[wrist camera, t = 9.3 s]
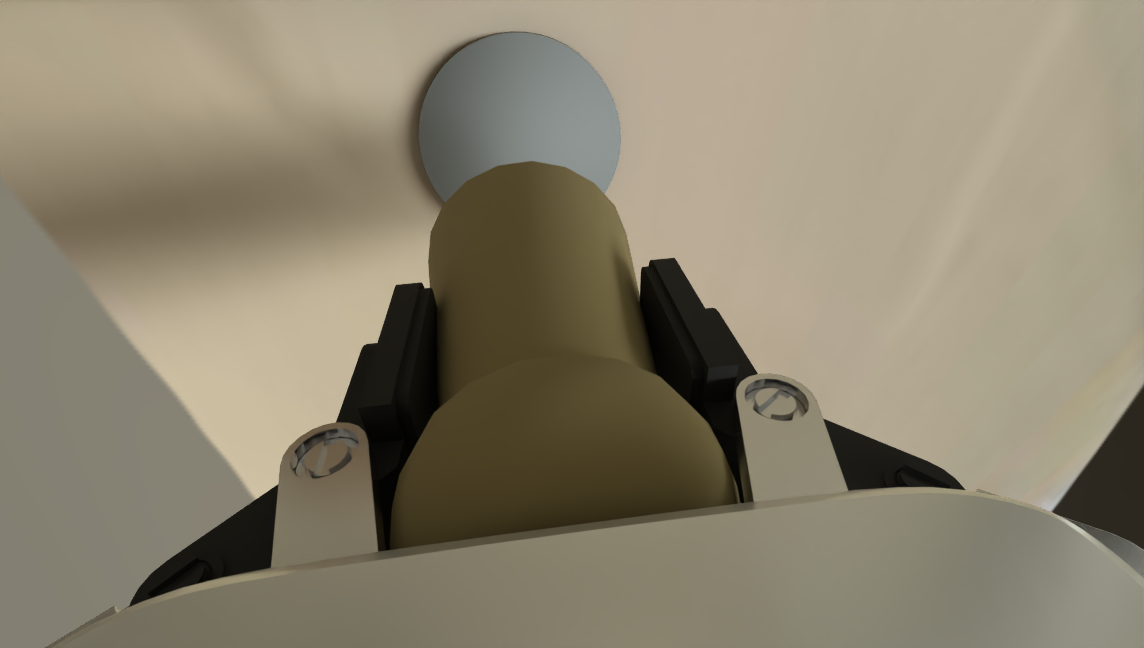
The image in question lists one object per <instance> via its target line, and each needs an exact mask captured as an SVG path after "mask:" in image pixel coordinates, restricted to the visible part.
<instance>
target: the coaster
mask: <svg viewBox="0 0 1144 648" xmlns="http://www.w3.org/2000/svg"><path fill="white" fill-rule="evenodd" d="M620 143H621V135H620V123H619V118H618V113H617V110H616V106H615V103H614V100H613V98H612V96H611V94H610V92H609V89H608V87H607V86H606V84H605V83H604V81H603V80H602V78H601V76H600V75H599V74H598V73H597V72H596V70H595V69H594V68H593V67H592V66H591V64H590V63H589V62H588V61H587V60H586V59H584V58H583V57H582V56H581V55H580V54H579V53H578V52H576V51H575V50H573V49H572V48H570V47H569V46H567V45H566V44H563V43H561V42H559V41H557V40H555V39H553V38H550V37H547V36H544V35H540V34H535V33H529V32H505V33H498V34H494V35H490V36H487V37H483V38H481V39H479V40H477V41H475V42H472V43H470V44H469V45H467V46H466V47H464V48H463V49H461V50H460V51H458V52H457V53H456V54H455V55H454V56H453V57H451V58H450V59H449V60H448V61H447V62H446V63H445V65H444V66H443V67H442V68H441V70H440V71H439V72H438V73H437V75H436V77H435V78H434V80H433V82H432V84H431V85H430V87H429V90H428V92H427V94H426V97H425V99H424V102H423V106H422V110H421V113H420V121H419V147H420V153H421V158H422V162H423V165H424V169H425V171H426V173H427V176H428V178H429V180H430V182H431V184H432V186H433V187H434V189H435V191H436V192H437V194H438V195H439V196H440V198H441V199H442V200H443V202H444V203H445V202H446V201H447V200H448V199H449V198H450V197H451V196H452V195H453V194H454V193H455V192H456V191H457V190H458V189H459V188H460V187H461V186H462V185H463V184H464V183H465V182H466V181H467V180H469V179H471V178H473V177H475V176H477V175H479V174H481V173H483V172H486V171H488V170H490V169H492V168H494V167H496V166H498V165H505V164H512V163H520V162H527V161H536V162H541V163H547V164H552V165H557V166H563V167H566V168H568V169H570V170H572V171H574V172H575V173H577V174H579V175H581V176H583V177H585V178H586V179H588V180H590V181H592V182H594V183H595V184H596V185H597V187H598V188H599V189H600V190H601V191H602V192H603V193H605V192H606V190H607V189H608V187H609V185H610V183H611V181H612V179H613V176H614V173H615V170H616V167H617V164H618V159H619V154H620Z"/></svg>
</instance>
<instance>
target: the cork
mask: <svg viewBox="0 0 1144 648" xmlns="http://www.w3.org/2000/svg"><path fill="white" fill-rule="evenodd" d="M428 264H429V279H430V288H432V289H433V292H434V296H435V300H436V305H437V398H438V410H436V411H435V412H434V413H433V415H432V417H431V419H430V420H429V422H428V424H427V426H426V428H425V429H424V431H423V433H422V435H421V436H420V438H419V440H418V442H417V444H416V445H415V447H414V449H413V451H412V453H411V454H410V456H409V458H408V460H407V462H406V463H405V465H404V467H403V469H402V471H401V472H400V474H399V477H398V482H397V487H396V491H395V496H394V500H393V505H392V512H391V530H390V550H394V549H401V548H409V547H416V546H423V545H430V544H437V543H445V542H452V541H459V540H466V539H474V538H481V537H488V536H495V535H503V534H510V533H518V532H525V531H533V530H540V529H548V528H555V527H562V526H570V525H577V524H585V523H593V522H600V521H608V520H615V519H623V518H630V517H638V516H646V515H653V514H661V513H669V512H677V511H685V510H692V509H700V508H708V507H716V506H724V505H732V504H739V503H740V499H739V494H738V488H737V484H736V482H735V479H734V477H733V474H732V472H731V469H730V467H729V464H728V462H727V459H726V456H725V454H724V451H723V450H722V448H721V446H720V444H719V442H718V440H717V438H716V436H715V435H714V433H713V431H712V429H711V427H710V425H709V423H708V422H707V421H706V420H705V419H704V418H703V417H702V416H701V415H700V414H699V413H698V412H697V411H696V410H695V409H694V408H693V407H692V406H691V405H690V404H689V403H688V402H687V401H686V400H685V399H683V398H682V397H681V396H680V395H679V394H678V393H677V392H676V391H675V390H674V389H673V388H672V387H671V386H669V385H668V384H667V383H666V382H665V381H664V380H663V379H662V378H661V377H660V376H658V375H657V372H656V368H655V363H654V358H653V354H652V349H651V345H650V340H649V336H648V331H647V327H646V322H645V318H644V314H643V311H642V307H641V304H640V295H639V290H638V286H637V281H636V277H635V272H634V267H633V263H632V258H631V254H630V249H629V245H628V240H627V236H626V232H625V229H624V227H623V225H622V222H621V220H620V217H619V215H618V212H617V210H616V207H615V205H614V204H613V203H612V202H611V201H610V200H609V199H608V198H607V197H606V195H605V194H604V193H603V192H602V191H601V190H600V189H599V188H598V187H597V185H596V184H595V183H594V182H592V181H590V180H588V179H586V178H585V177H583V176H581V175H579V174H577V173H575V172H574V171H572V170H570V169H568V168H566V167H563V166H557V165H552V164H547V163H541V162H536V161H527V162H520V163H512V164H505V165H498V166H496V167H494V168H492V169H490V170H488V171H486V172H483V173H481V174H479V175H477V176H475V177H473V178H471V179H469V180H467V181H466V182H465V183H464V184H463V185H462V186H461V187H460V188H459V189H458V190H457V191H456V192H455V193H454V194H453V195H452V196H451V197H450V198H449V199H448V200H447V201H446V202H445V203H444V205H443V207H442V209H441V211H440V213H439V216H438V218H437V220H436V222H435V224H434V226H433V228H432V231H431V235H430V248H429V260H428Z"/></svg>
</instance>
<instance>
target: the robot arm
mask: <svg viewBox="0 0 1144 648" xmlns="http://www.w3.org/2000/svg"><path fill="white" fill-rule="evenodd" d="M640 304H641V307H642V311H643V314H644V318H645V322H646V327H647V331H648V336H649V340H650V345H651V349H652V354H653V358H654V363H655V368H656V372H657V375H658V376H660V377H661V378H662V379H663V380H664V381H665V382H666V383H667V384H668V385H669V386H671V387H672V388H673V389H674V390H675V391H676V392H677V393H678V394H679V395H680V396H681V397H682V398H683V399H685V400H686V401H687V402H688V403H689V404H690V405H691V406H692V407H693V408H694V409H695V410H696V411H697V412H698V413H699V414H700V415H701V416H702V417H703V418H704V419H705V420H706V421H707V422H708V423H709V425H710V427H711V429H712V431H713V433H714V435H715V436H716V438H717V440H718V442H719V444H720V446H721V448H722V450H723V451H724V454H725V456H726V459H727V462H728V464H729V467H730V469H731V472H732V474H733V477H734V479H735V482H736V484H737V488H738V494H739V499H740V503H739V504H732V505H724V506H716V507H708V508H700V509H692V510H685V511H677V512H669V513H661V514H653V515H646V516H638V517H630V518H623V519H615V520H608V521H600V522H593V523H585V524H577V525H570V526H562V527H555V528H548V529H540V530H533V531H525V532H518V533H510V534H503V535H495V536H488V537H481V538H474V539H466V540H459V541H452V542H445V543H437V544H430V545H423V546H416V547H409V548H401V549H394V550H390V530H391V512H392V505H393V500H394V496H395V491H396V487H397V482H398V477H399V474H400V472H401V471H402V469H403V467H404V465H405V463H406V462H407V460H408V458H409V456H410V454H411V453H412V451H413V449H414V447H415V445H416V444H417V442H418V440H419V438H420V436H421V435H422V433H423V431H424V429H425V428H426V426H427V424H428V422H429V420H430V419H431V417H432V415H433V413H434V412H435V411H436V410H438V398H437V305H436V300H435V296H434V292H433V289H432V288H425V289H424V286H423V284H422V283H412V284H401V285H396V286H395V289H394V292H393V295H392V299H391V302H390V305H389V308H388V311H387V315H386V318H385V321H384V324H383V327H382V331H381V334H380V337H379V340H378V343H373V344H366V345H364V346H363V348H362V350H361V353H360V356H359V358H358V361H357V364H356V367H355V370H354V373H353V376H352V378H351V381H350V384H349V387H348V390H347V393H346V396H345V398H344V401H343V404H342V407H341V410H340V413H339V416H338V418H337V421H336V423H331V424H326V425H323V426H320V427H318V428H315V429H312V430H311V431H309V432H307V433H306V434H304V435H302V436H301V437H299V438H298V439H297V440H296V441H295V442H294V443H293V444H292V445H290V447H289V448H288V450H287V451H286V452H285V454H284V455H283V458H282V461H281V465H280V473H279V484H278V485H276V486H275V487H274V488H272V489H271V490H269V491H268V492H266V493H265V494H263V495H262V496H260V497H259V498H258V499H256V500H255V501H253V502H252V503H251V504H249V505H247V506H246V507H244V508H243V509H242V510H240V511H239V512H237V513H236V514H234V515H233V516H231V517H230V518H228V519H227V520H226V521H224V522H223V523H221V524H220V525H219V526H217V527H215V528H214V529H213V530H211V531H210V532H208V533H207V534H205V535H204V536H202V537H201V538H199V539H198V540H197V541H195V542H194V543H192V544H191V545H189V546H188V547H186V548H185V549H183V550H182V551H181V552H179V553H178V554H176V555H175V556H173V557H172V558H170V559H169V560H167V561H166V562H165V563H164V564H163V565H161V566H160V567H159V568H158V569H157V570H155V571H154V572H153V573H151V575H150V576H149V577H148V578H147V579H146V580H145V582H144V583H143V584H142V585H141V586H140V587H139V589H138V590H137V592H136V594H135V596H134V597H133V599H132V601H131V603H130V605H129V606H128V607H126V608H125V609H123V610H121V611H120V610H118V609H117V608H116V607H115V606H113V607H111V608H110V609H108V610H106V611H105V612H103V613H101V614H100V615H98V616H96V617H95V618H93V619H91V620H90V621H88V622H86V623H85V624H83V625H81V626H80V627H78V628H76V629H75V630H73V631H71V632H70V633H68V634H67V635H65V636H63V637H62V638H60V639H58V640H57V641H55V642H53V643H52V644H50V645H49V646H47V647H45V648H1144V550H1142V549H1141V548H1139V547H1138V546H1136V545H1135V544H1133V543H1132V542H1130V541H1127V540H1125V539H1123V538H1121V537H1118V536H1116V535H1114V534H1111V533H1109V532H1106V531H1103V530H1100V529H1096V528H1094V527H1091V526H1088V525H1085V524H1082V523H1079V522H1076V521H1072V520H1070V519H1067V518H1064V517H1061V516H1058V515H1056V514H1054V513H1052V512H1050V511H1047V510H1045V509H1042V508H1039V507H1036V506H1033V505H1030V504H1027V503H1024V502H1021V501H1017V500H1013V499H1010V498H1006V497H1001V496H998V495H995V494H992V493H989V492H986V491H983V490H980V489H977V490H976V492H974V491H968V490H965V489H964V488H963V487H962V485H961V484H960V483H959V482H958V481H957V480H956V479H955V478H954V477H953V476H951V475H950V474H949V473H947V472H946V471H945V470H943V469H942V468H940V467H938V466H936V465H934V464H932V463H930V462H928V461H926V460H923V459H921V458H918V457H916V456H913V455H911V454H908V453H906V452H904V451H901V450H899V449H896V448H894V447H891V446H889V445H886V444H884V443H881V442H879V441H877V440H874V439H872V438H869V437H867V436H864V435H862V434H859V433H857V432H855V431H852V430H850V429H847V428H845V427H842V426H840V425H837V424H835V423H833V422H830V421H828V420H825V419H823V417H822V414H821V411H820V408H819V405H818V403H817V400H816V399H815V397H814V395H813V393H812V392H811V391H810V390H809V389H807V388H806V387H805V386H804V385H803V384H801V383H799V382H797V381H796V380H794V379H791V378H788V377H785V376H782V375H776V374H770V373H769V374H758V373H757V372H756V370H755V369H754V367H753V365H752V364H751V362H750V361H749V359H748V358H747V356H746V354H745V353H744V351H743V350H742V348H741V347H740V345H739V343H738V342H737V340H736V339H735V337H734V335H733V334H732V332H731V331H730V329H729V328H728V326H727V324H726V323H725V321H724V320H723V318H722V317H721V315H720V313H719V312H718V311H717V310H716V309H715V308H707V309H705V307H704V306H703V304H702V302H701V301H700V299H699V297H698V296H697V294H696V292H695V291H694V289H693V287H692V286H691V284H690V282H689V281H688V279H687V277H686V276H685V274H684V272H683V271H682V269H681V267H680V266H679V264H678V262H677V261H676V259H675V258H668V259H658V260H650V262H649V267H642V269H641V285H640Z"/></svg>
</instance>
